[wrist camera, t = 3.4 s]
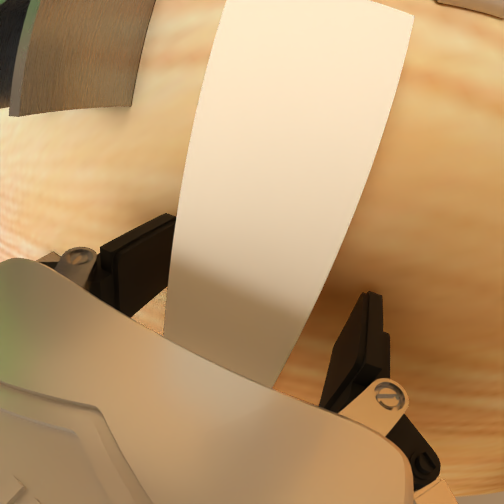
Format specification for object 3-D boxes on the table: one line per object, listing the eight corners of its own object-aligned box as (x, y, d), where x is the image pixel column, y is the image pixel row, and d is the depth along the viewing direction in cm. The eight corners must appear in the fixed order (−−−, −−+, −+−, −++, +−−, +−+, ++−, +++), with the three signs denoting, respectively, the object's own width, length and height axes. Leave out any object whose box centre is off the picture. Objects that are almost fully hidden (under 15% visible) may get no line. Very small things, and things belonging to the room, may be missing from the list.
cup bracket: (160, -17, 9) (61, -52, 4) (131, 106, 12) (18, 116, 7) (70, 6, 10) (-9, 0, 5) (51, 100, 13) (-31, 113, 8)
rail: (393, 64, 8) (414, 15, 4) (257, 403, 17) (225, 466, 13) (288, 34, 9) (233, -20, 5) (200, 376, 18) (160, 432, 14)
